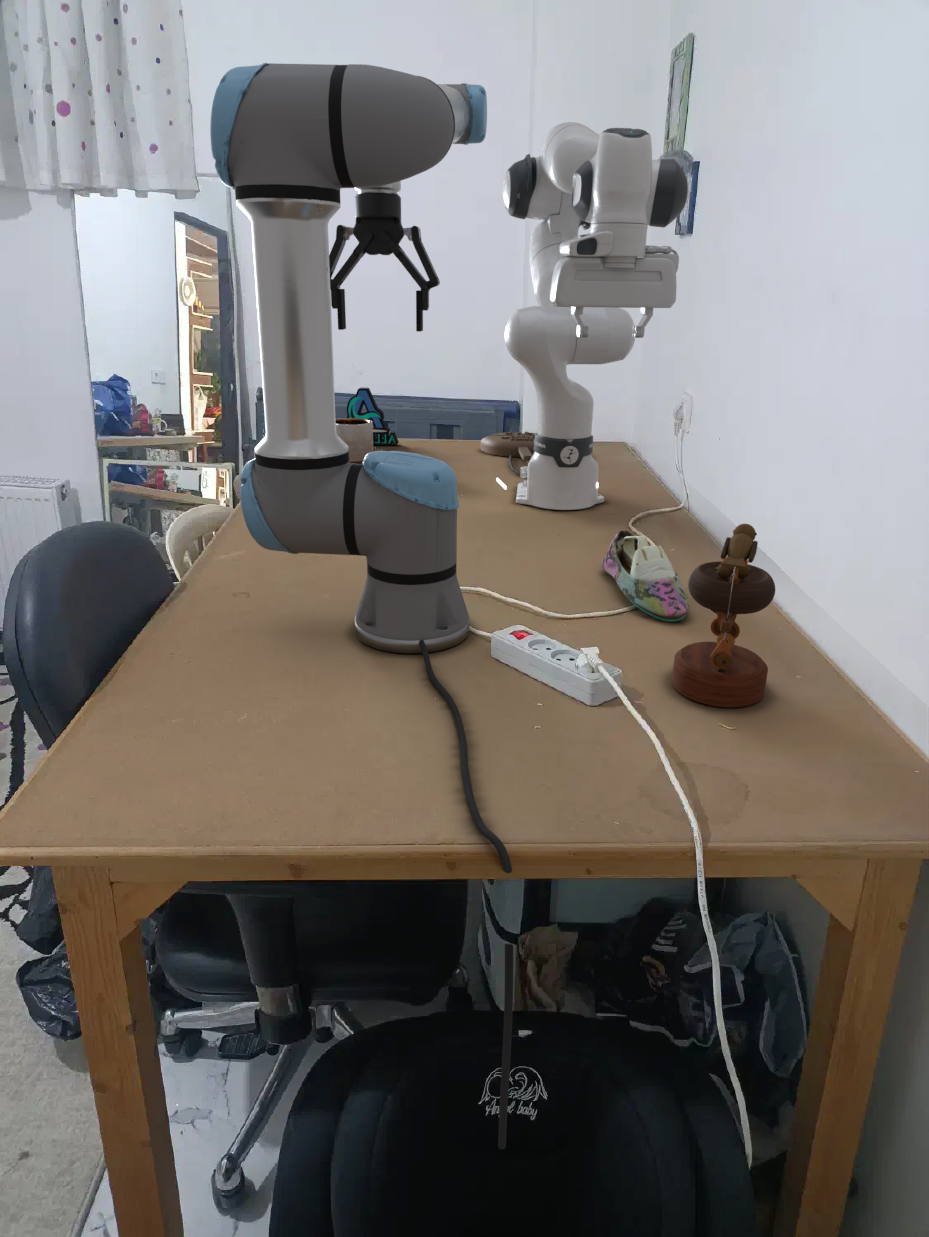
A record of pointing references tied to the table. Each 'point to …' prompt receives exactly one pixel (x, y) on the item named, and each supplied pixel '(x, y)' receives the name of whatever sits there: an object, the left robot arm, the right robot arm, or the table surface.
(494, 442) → the ice cream bar
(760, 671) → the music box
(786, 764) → the table surface
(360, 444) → the planter
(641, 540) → the colourful slip-on shoe
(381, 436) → the decorative sign
